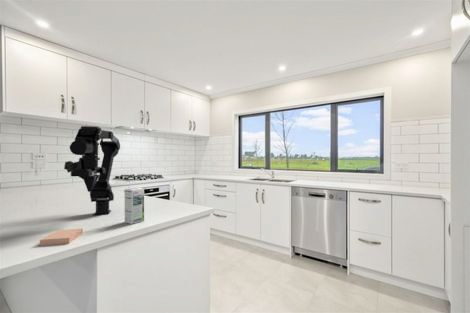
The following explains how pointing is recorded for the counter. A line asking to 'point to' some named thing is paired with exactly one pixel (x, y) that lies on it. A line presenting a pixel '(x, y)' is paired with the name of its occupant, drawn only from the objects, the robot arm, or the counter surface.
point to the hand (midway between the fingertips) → (89, 191)
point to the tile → (61, 237)
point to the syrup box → (134, 205)
